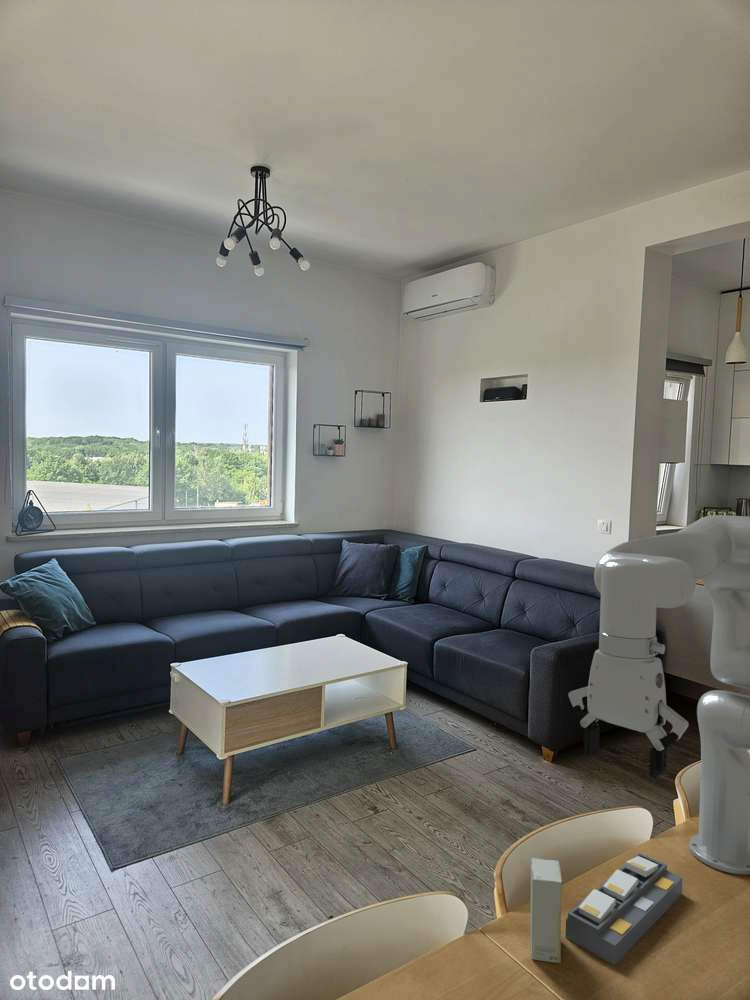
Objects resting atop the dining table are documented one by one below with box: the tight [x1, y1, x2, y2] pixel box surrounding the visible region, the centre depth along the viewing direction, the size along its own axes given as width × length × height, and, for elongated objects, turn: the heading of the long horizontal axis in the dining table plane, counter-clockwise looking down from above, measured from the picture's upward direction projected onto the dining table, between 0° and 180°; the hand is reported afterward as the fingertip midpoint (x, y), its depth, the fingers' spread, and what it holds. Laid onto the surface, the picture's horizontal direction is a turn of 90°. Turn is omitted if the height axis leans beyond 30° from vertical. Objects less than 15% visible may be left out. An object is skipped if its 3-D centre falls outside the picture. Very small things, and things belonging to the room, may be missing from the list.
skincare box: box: [529, 857, 563, 964], centre depth 99 cm, size 6×4×12 cm
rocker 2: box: [603, 869, 638, 901], centre depth 108 cm, size 5×4×1 cm
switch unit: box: [565, 852, 683, 966], centre depth 107 cm, size 25×8×4 cm, turn 133°
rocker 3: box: [624, 856, 658, 877], centre depth 113 cm, size 5×4×1 cm
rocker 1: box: [579, 888, 616, 924], centre depth 102 cm, size 5×4×1 cm
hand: (622, 763), depth 94 cm, fingers open, 9 cm apart
